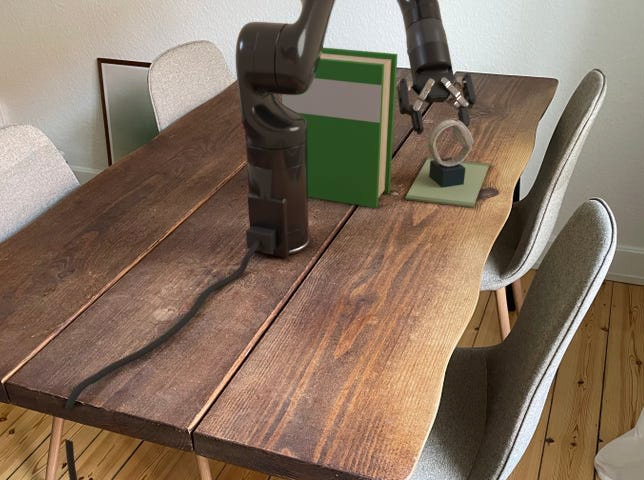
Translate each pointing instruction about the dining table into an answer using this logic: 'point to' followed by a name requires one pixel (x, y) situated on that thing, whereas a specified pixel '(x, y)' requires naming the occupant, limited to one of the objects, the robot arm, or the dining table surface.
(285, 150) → the robot arm
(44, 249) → the dining table surface
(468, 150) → the watch
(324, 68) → the hardback book
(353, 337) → the dining table surface
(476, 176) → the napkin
